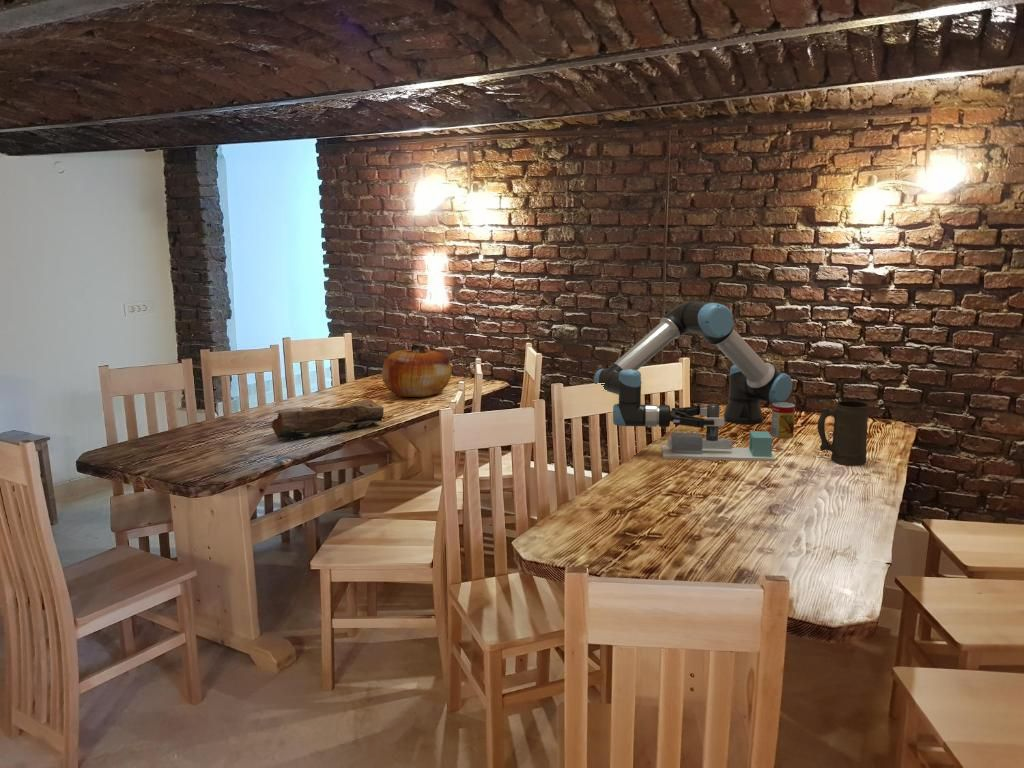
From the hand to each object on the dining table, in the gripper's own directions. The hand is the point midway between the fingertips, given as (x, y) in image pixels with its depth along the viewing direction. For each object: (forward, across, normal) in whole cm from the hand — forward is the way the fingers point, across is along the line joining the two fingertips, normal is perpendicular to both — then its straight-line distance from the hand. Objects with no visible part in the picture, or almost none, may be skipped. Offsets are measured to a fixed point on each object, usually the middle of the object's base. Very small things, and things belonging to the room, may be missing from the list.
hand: (721, 417), depth 251 cm
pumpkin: (-132, -86, -14) cm, 158 cm away
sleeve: (-12, 0, -12) cm, 17 cm away
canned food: (+25, -26, -14) cm, 39 cm away
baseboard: (-1, 0, -13) cm, 13 cm away
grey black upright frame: (-7, 0, -11) cm, 13 cm away
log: (-149, -17, -14) cm, 151 cm away
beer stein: (+38, +3, -14) cm, 41 cm away
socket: (+13, 0, -12) cm, 18 cm away
